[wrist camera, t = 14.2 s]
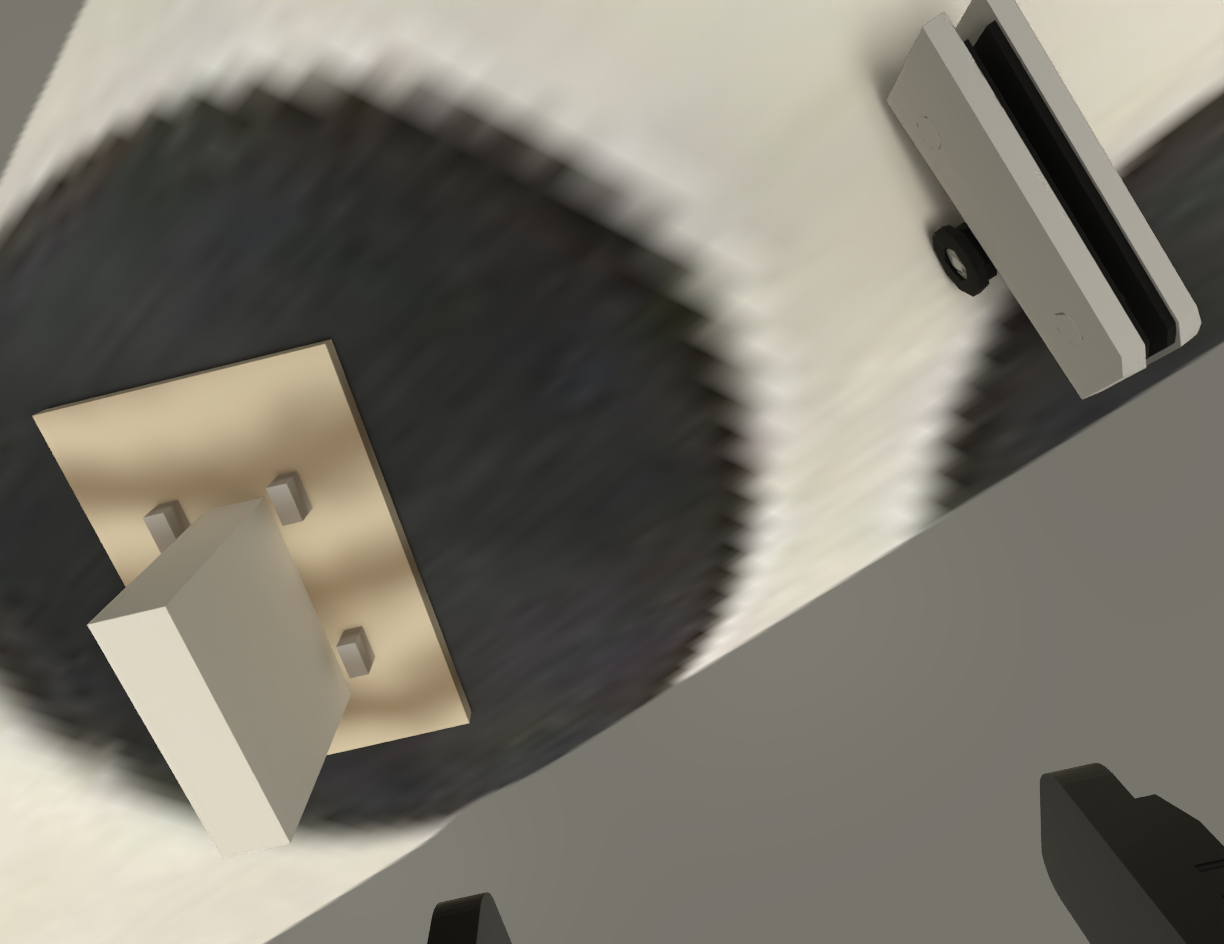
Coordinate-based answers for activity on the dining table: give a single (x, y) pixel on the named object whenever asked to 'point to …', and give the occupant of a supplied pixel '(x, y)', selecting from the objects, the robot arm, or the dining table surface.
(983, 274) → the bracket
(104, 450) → the light brown flat board
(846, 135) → the dining table surface
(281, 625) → the door panel
